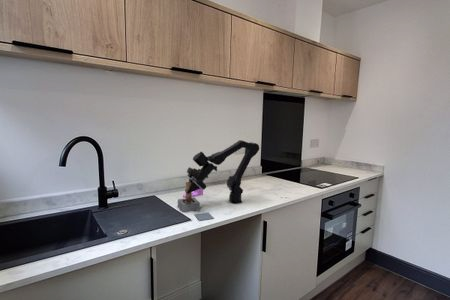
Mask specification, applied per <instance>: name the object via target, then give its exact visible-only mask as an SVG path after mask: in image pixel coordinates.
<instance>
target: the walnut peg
mask: <svg viewBox="0 0 450 300" xmlns="http://www.w3.org/2000/svg"><path fill="white" fill-rule="evenodd" d="M191 185H192V182H189V181H186V182H185V189H186V191H185V194H186V201H185V203H193V201H192V198H193V197H192V192H191V193H189V194H188V193H187V191H188V189H189V188H190V187H191Z"/></svg>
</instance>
